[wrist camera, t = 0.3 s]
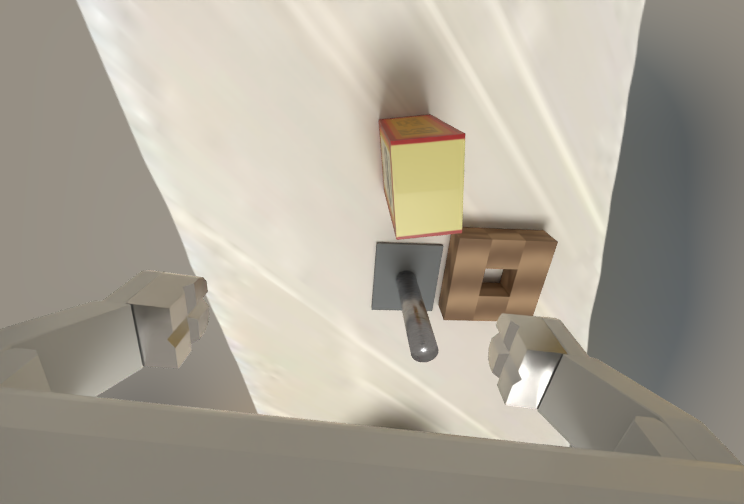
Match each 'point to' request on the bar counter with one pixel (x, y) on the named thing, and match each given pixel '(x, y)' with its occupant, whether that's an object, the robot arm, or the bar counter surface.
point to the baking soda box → (423, 175)
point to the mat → (403, 258)
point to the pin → (416, 318)
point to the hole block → (494, 251)
